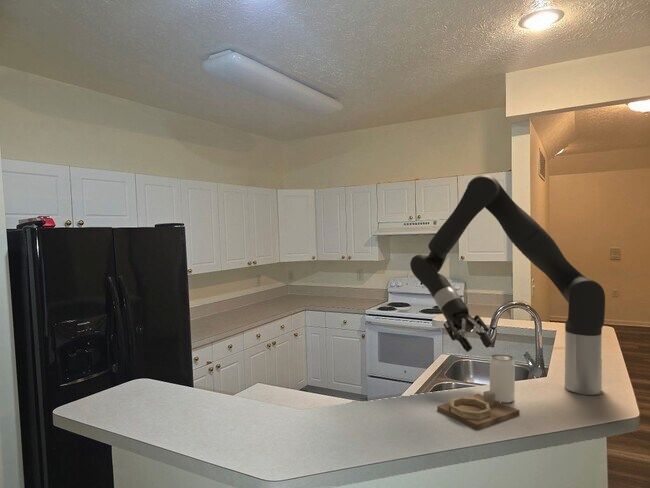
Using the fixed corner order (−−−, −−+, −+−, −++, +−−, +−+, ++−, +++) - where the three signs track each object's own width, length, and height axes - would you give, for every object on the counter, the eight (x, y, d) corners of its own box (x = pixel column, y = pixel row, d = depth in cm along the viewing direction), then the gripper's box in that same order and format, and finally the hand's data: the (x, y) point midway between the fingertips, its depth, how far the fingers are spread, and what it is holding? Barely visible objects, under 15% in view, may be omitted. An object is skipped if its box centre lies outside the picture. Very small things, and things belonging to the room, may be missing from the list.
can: (517, 404, 116) (517, 360, 116) (492, 402, 117) (492, 359, 117) (511, 395, 122) (511, 354, 122) (487, 393, 124) (487, 353, 123)
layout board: (478, 397, 121) (478, 383, 121) (519, 414, 110) (519, 398, 109) (437, 410, 113) (437, 394, 113) (477, 429, 101) (477, 412, 101)
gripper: (440, 299, 130) (470, 344, 120) (472, 295, 137) (503, 338, 127) (428, 313, 134) (456, 358, 125) (459, 309, 142) (488, 351, 132)
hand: (479, 348), depth 126 cm, fingers open, 8 cm apart
